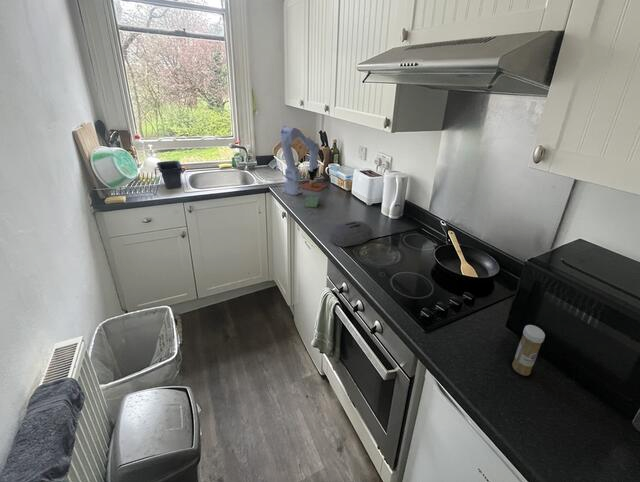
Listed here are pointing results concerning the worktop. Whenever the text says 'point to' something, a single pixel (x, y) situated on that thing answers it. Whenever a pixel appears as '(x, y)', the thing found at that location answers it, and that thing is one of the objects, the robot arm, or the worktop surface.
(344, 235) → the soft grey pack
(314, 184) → the maple cube
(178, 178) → the storage bin
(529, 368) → the sprinkles bottle
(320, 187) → the mat
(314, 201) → the sage block
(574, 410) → the worktop surface
